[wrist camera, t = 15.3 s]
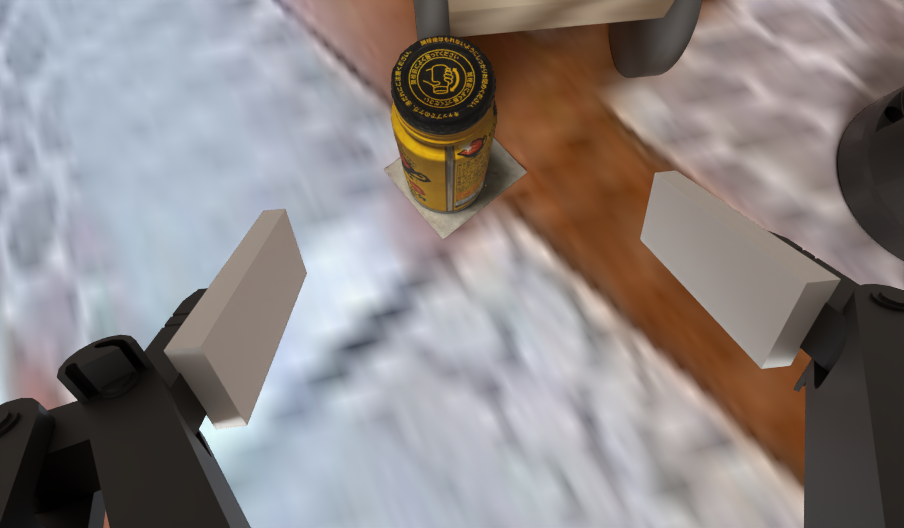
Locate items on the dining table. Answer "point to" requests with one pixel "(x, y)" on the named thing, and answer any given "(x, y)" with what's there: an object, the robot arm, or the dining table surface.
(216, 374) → the robot arm
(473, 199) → the condiment
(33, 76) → the dining table surface
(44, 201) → the dining table surface
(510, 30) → the trolley
